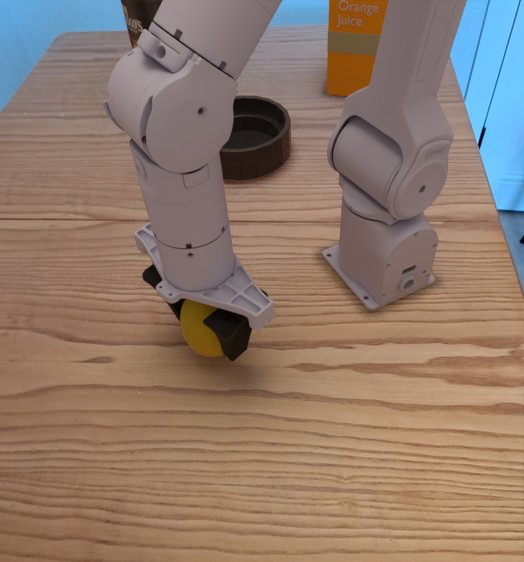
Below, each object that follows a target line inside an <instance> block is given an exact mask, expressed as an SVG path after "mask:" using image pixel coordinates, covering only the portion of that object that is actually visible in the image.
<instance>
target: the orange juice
mask: <svg viewBox="0 0 524 562" xmlns="http://www.w3.org/2000/svg"><path fill="white" fill-rule="evenodd" d="M388 2H389V0H328V21H327V22H328V23H327V25H328V27H327V45H326V47H327V48H326V49H327V51H326V52H327V58H326V59H327V60H326V61H327V64H326V67H327V68H326V95H330V96H339V97H348V96H349V95H351V94H353V93H354V92H356V91H358V90H360V89H362V88H364V87H367V86H369V84H370V80H371V76H372V71H373V67H374V63H375V58H376V54H377V50H378V45H379V41H380V37H381V32H382V28H383V24H384V19H385V15H386V11H387V6H388Z"/></svg>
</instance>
